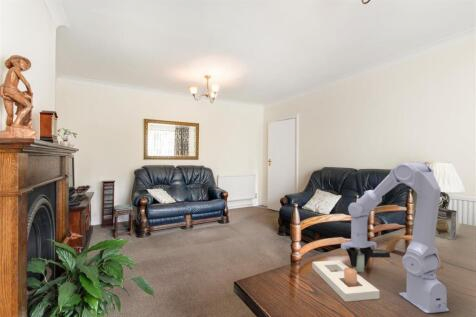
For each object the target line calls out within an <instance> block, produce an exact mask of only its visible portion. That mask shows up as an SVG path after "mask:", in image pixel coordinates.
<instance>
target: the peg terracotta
mask: <svg viewBox="0 0 476 317" xmlns="http://www.w3.org/2000/svg"><path fill="white" fill-rule="evenodd" d="M357 274H358V272H357V271H356V270H355V269H353V267H349V268H344V284H345V285H346V286H348V287H357Z"/></svg>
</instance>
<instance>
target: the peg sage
mask: <svg viewBox="0 0 476 317" xmlns="http://www.w3.org/2000/svg"><path fill="white" fill-rule="evenodd" d="M352 268H353V269H355V270H356V271H357V273H365V266H364V254H363V253H360V252H359V253H358V255H357V262H356V267H353V266H352Z"/></svg>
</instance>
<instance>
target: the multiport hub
mask: <svg viewBox="0 0 476 317" xmlns="http://www.w3.org/2000/svg"><path fill="white" fill-rule="evenodd" d="M355 249H356V251H357V252H360V248H355ZM360 253H361V252H360ZM390 257H391V252H387V251H386V249H373V253H372V254H371V256H370V257H369V258H390Z"/></svg>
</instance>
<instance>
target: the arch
mask: <svg viewBox="0 0 476 317" xmlns="http://www.w3.org/2000/svg"><path fill="white" fill-rule="evenodd" d="M412 237H413V235H412V234H411V235H408V234H407V235H401V236H398V237H395V238H392V239H390V240H389V242H387V244H386V246H385V250H386V251H387V252H389V253H391V252H394V251H395V248H396V245H397V243H399V241H400V240H405V241H409V242H412ZM438 257H439V260H440V267H439V268H438V269H437V270H440V269H442V268H443V262H442V259H441V256H440V254H438Z"/></svg>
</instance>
